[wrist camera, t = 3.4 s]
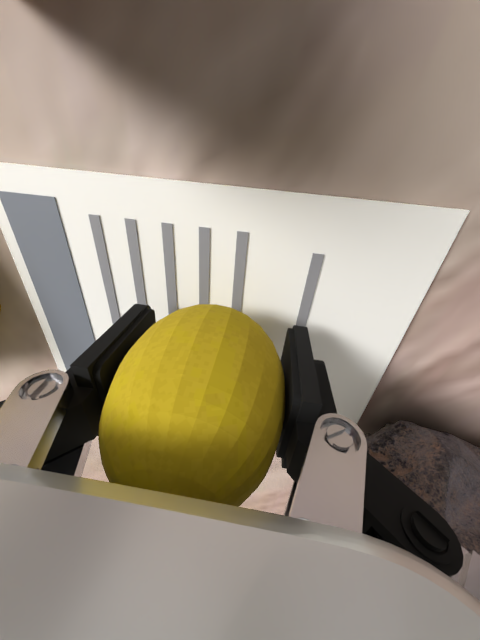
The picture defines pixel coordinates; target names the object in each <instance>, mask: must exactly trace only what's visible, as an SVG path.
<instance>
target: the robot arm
mask: <svg viewBox="0 0 480 640" xmlns="http://www.w3.org/2000/svg"><path fill="white" fill-rule="evenodd" d="M155 323H156V319H155V311H154V310H153V309H151V307H150V306H149V305H143V304H134V305H133V306H132V307H131V308H130V309H129V310H128V311H127V312H126V313H125V314H124V315H122V316H121V317H120V318H119V319H118V320H117V321H116V322H115V323H114V324H113V325H112V326H111V327H110V328H109V329H108V330H107V331H106V332H105V333H103V334H102V335H101V336H100V337H99V338H98V339H97V340H96V341H95V342H94V343H93V344H92V345H91V346H90V347H89V348H88V349H87V350H86V351H84V352H83V353H82V354H81V355H80V356H79V357H78V358H77V359H76V360H75V361H74V362H73V363H72V364H71V365H70V368H69V369H68V370H67V371H66V372H64V371H61V370H46V371H42V372H39V373H36V374H33V375H31V376H29V377H27V378H26V379H24V380H23V381H21V382H20V383H19V384H18V385H17V386H16V387H15V388H14V390H13V391H12V392H11V394H10V395H9V397H8V398H7V400H4V401H1V402H0V640H480V555H479V554H478V553H476V552H475V551H474V550H472V551H470V552H468V551H467V550H466V549H465V548H463V547H462V546H461V544H460V542H459V540H458V538H457V536H456V534H455V532H454V531H453V529H452V528H451V527H450V525H449V524H448V523H447V521H446V520H445V519H444V518H443V517H442V516H441V515H440V514H439V513H438V512H437V511H436V510H434V509H433V508H432V507H431V506H430V505H429V504H427V503H426V502H425V501H424V500H423V499H422V498H420V497H419V496H418V495H417V494H416V493H415V492H413V491H412V490H411V489H410V488H409V487H408V486H406V485H405V484H404V483H403V482H402V481H401V480H399V479H398V478H397V477H396V476H395V475H393V474H392V473H391V472H390V471H389V470H388V469H386V468H385V467H384V466H383V465H382V464H381V463H379V462H378V461H377V460H376V459H375V458H374V457H372V456H371V455H370V454H369V453H368V452H367V442H366V438H365V436H364V433H363V432H362V430H361V429H360V428H359V427H358V425H357V424H355V423H354V422H353V421H352V420H350V419H348V418H347V417H345V416H342V415H339V414H337V410H336V406H335V402H334V398H333V394H332V390H331V386H330V382H329V378H328V374H327V370H326V366H325V363H324V361H322V360H315V359H314V358H313V353H312V348H311V343H310V338H309V332H308V328H307V327H304V326H297V325H293V328H288V329H287V333H286V338H285V342H284V347H283V352H282V356H281V364H282V367H283V372H284V380H285V416H284V422H283V427H282V432H281V436H280V439H279V443H278V446H277V448H276V455H277V457H281V458H282V468H287V473H288V474H289V475H290V476H291V478H292V479H293V480H294V481H293V484H292V488H291V491H290V495H289V498H288V501H287V505H286V508H285V511H284V515H278V514H274V513H268V512H263V511H258V510H253V509H247V508H242V507H237V506H232V505H226V504H221V503H216V502H211V501H206V500H200V499H195V498H190V497H185V496H179V495H174V494H168V493H163V492H158V491H152V490H147V489H142V488H136V487H131V486H125V485H120V484H115V483H109V482H104V481H98V480H93V479H88V478H82V477H81V476H82V473H83V469H84V466H85V463H86V459H87V456H88V453H89V449H90V446H91V442H92V440H93V439H95V437H96V436H99V422H100V417H101V412H102V409H103V406H104V403H105V399H106V397H107V394H108V391H109V388H110V386H111V383H112V381H113V378H114V376H115V374H116V372H117V370H118V367H119V365H120V364H121V362H122V360H123V359H124V357H125V355H126V354H127V353H128V351H129V350H130V348H131V347H132V346H133V345H134V344H135V343H136V342H137V340H138V339H139V338H140V337H141V336H142V335H143V334H144V333H145V332H146V331H147V330H148V329H149V328H150V327H151V326H152V325H153V324H155Z"/></svg>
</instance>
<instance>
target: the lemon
mask: <svg viewBox="0 0 480 640" xmlns="http://www.w3.org/2000/svg"><path fill="white" fill-rule="evenodd" d="M284 416H285V380H284V372H283V367H282V364H281V361H280V358H279V356H278V353H277V351H276V348H275V346H274V344H273V342H272V340H271V339H270V338H269V336H268V335H267V334H266V333H265V331H264V330H263V329H262V327H261V326H260V325H259V324H258V323H256V322H255V321H254V320H253V319H251V318H250V317H249V316H248V315H246V314H244V313H242V312H240V311H237V310H235V309H233V308H230V307H226V306H221V305H217V304H198V305H194V306H190V307H186V308H182V309H178V310H177V311H175V312H173V313H171V314H169V315H167V316H166V317H164V318H162V319H160V320H159V321H157V322H156V323H155V324H153V325H152V326H151V327H150V328H149V329H148V330H147V331H146V332H145V333H144V334H143V335H142V336H141V337H140V338H139V339H138V340H137V342H136V343H135V344H134V345H133V346H132V347H131V348H130V350H129V351H128V353H127V354H126V355H125V357H124V359H123V360H122V362H121V364H120V365H119V367H118V370H117V372H116V374H115V376H114V378H113V381H112V383H111V386H110V388H109V391H108V394H107V397H106V399H105V403H104V406H103V409H102V412H101V417H100V422H99V448H100V455H101V460H102V465H103V467H104V470H105V473H106V476H107V478H108V480H109V482H110V483H115V484H120V485H125V486H131V487H136V488H142V489H147V490H152V491H158V492H163V493H168V494H174V495H179V496H185V497H190V498H195V499H200V500H206V501H211V502H216V503H221V504H226V505H232V506H237V507H238V506H240V505H241V504H242V503H243V502H244V501H245V500H246V499H247V498H248V497H249V496H250V495H251V494H252V493H253V492H254V491H255V490H256V489H257V488H258V486H259V485H260V483H261V482H262V480H263V479H264V477H265V476H266V474H267V472H268V469H269V467H270V465H271V463H272V460H273V457H274V454H275V451H276V448H277V446H278V443H279V439H280V436H281V432H282V427H283V422H284Z"/></svg>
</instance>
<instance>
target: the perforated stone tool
mask: <svg viewBox="0 0 480 640" xmlns="http://www.w3.org/2000/svg"><path fill="white" fill-rule="evenodd" d="M364 436H365V438H366V442H367V452H368V453H369V454H370V455H371V456H372V457H374V458H375V459H376V460H377V461H378V462H379V463H381V464H382V465H383V466H384V467H385V468H386V469H388V470H389V471H390V472H391V473H392V474H393V475H395V476H396V477H397V478H398V479H399V480H401V481H402V482H403V483H404V484H405V485H406V486H408V487H409V488H410V489H411V490H412V491H413V492H415V493H416V494H417V495H418V496H419V497H420V498H422V499H423V500H424V501H425V502H426V503H427V504H429V505H430V506H431V507H432V508H433V509H434V510H436V511H437V512H438V513H439V514H440V515H441V516H442V517H443V518H444V519H445V520H446V521H447V523H448V524H449V525H450V527H451V528H452V529H453V531H454V532H455V534H456V536H457V538H458V540H459V542H460V544H461V546H462V547H463V548H465V549H466V550H467V551H468V552H470V551H472V550H474V551H475V552H476V553H478V554H479V555H480V448H478V447H476V446H474V445H472V444H470V443H468V442H466V441H464V440H462V439H460V438H458V437H455V436H453V435H451V434H449V433H447V432H438V431H436V430H431V429H429V428H424V427H420V426H418V425H416V424H415V423H412V422H409V421H402V420H399V421H398V422H396V423H392V424H391V423H390V424H388V423H387V424H386V425H385V427H384V428H381V429H380V430H379V431H377V432H376V433H374V434H366V435H364Z"/></svg>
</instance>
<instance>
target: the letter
mask: <svg viewBox="0 0 480 640" xmlns="http://www.w3.org/2000/svg"><path fill="white" fill-rule="evenodd" d="M469 211H470V210H466V209H456V208H446V207H437V206H427V205H417V204H407V203H397V202H388V201H378V200H368V199H358V198H348V197H339V196H329V195H319V194H309V193H300V192H290V191H280V190H270V189H260V188H251V187H241V186H231V185H221V184H211V183H202V182H192V181H182V180H172V179H162V178H153V177H143V176H133V175H123V174H113V173H104V172H94V171H84V170H74V169H65V168H55V167H45V166H35V165H25V164H16V163H6V162H0V228H1V230H2V233H3V235H4V238H5V240H6V243H7V245H8V247H9V250H10V252H11V255H12V257H13V260H14V262H15V265H16V267H17V269H18V272H19V274H20V277H21V279H22V282H23V284H24V287H25V289H26V291H27V294H28V296H29V299H30V301H31V304H32V306H33V309H34V311H35V313H36V316H37V318H38V321H39V323H40V326H41V328H42V330H43V333H44V335H45V338H46V340H47V343H48V345H49V348H50V350H51V352H52V355H53V357H54V360H55V362H56V365H57V367H58V370H61V371H64V372H66V371H67V370H68V369H69V368H70V365H71V364H72V363H73V362H74V361H75V360H76V359H77V358H78V357H79V356H80V355H81V354H82V353H83V352H84V351H86V350H87V349H88V348H89V347H90V346H91V345H92V344H93V343H94V342H95V341H96V340H97V339H98V338H99V337H100V336H101V335H102V334H103V333H105V332H106V331H107V330H108V329H109V328H110V327H111V326H112V325H113V324H114V323H115V322H116V321H117V320H118V319H119V318H120V317H121V316H122V315H124V314H125V313H126V312H127V311H128V310H129V309H130V308H131V307H132V306H133V305H134V304H143V305H149V306H150V307H151V309H153V310H154V311H155V319H156V322H157V321H159V320H160V319H162V318H164V317H166V316H167V315H169V314H171V313H173V312H175V311H177V310H178V309H182V308H186V307H190V306H194V305H198V304H217V305H221V306H226V307H230V308H233V309H235V310H237V311H240V312H242V313H244V314H246V315H248V316H249V317H250V318H251V319H253V320H254V321H255V322H256V323H258V324H259V325H260V326H261V327H262V329H263V330H264V331H265V333H266V334H267V335H268V336H269V338H270V339H271V340H272V342H273V344H274V346H275V348H276V351H277V353H278V356H279V358H280V361H281V356H282V352H283V347H284V342H285V338H286V333H287V329H288V328H293V325H297V326H304V327H307V328H308V332H309V338H310V343H311V348H312V353H313V358H314V359H315V360H322V361H324V363H325V366H326V370H327V374H328V378H329V382H330V386H331V390H332V394H333V398H334V402H335V406H336V410H337V414H339V415H342V416H345V417H347V418H348V419H350V420H352V421H353V422H354V423H355V424H357V423H358V421H359V419H360V417H361V415H362V414H363V412H364V410H365V408H366V406H367V404H368V402H369V400H370V398H371V397H372V395H373V393H374V391H375V389H376V387H377V385H378V383H379V381H380V380H381V378H382V376H383V374H384V372H385V370H386V368H387V366H388V364H389V362H390V361H391V359H392V357H393V355H394V353H395V351H396V349H397V347H398V345H399V344H400V342H401V340H402V338H403V336H404V334H405V332H406V330H407V328H408V327H409V325H410V323H411V321H412V319H413V317H414V315H415V313H416V311H417V310H418V308H419V306H420V304H421V302H422V300H423V298H424V296H425V294H426V292H427V291H428V289H429V287H430V285H431V283H432V281H433V279H434V277H435V275H436V274H437V272H438V270H439V268H440V266H441V264H442V262H443V260H444V258H445V257H446V255H447V253H448V251H449V249H450V247H451V245H452V243H453V241H454V240H455V238H456V236H457V234H458V232H459V230H460V228H461V226H462V224H463V222H464V221H465V219H466V217H467V215H468V213H469Z"/></svg>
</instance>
